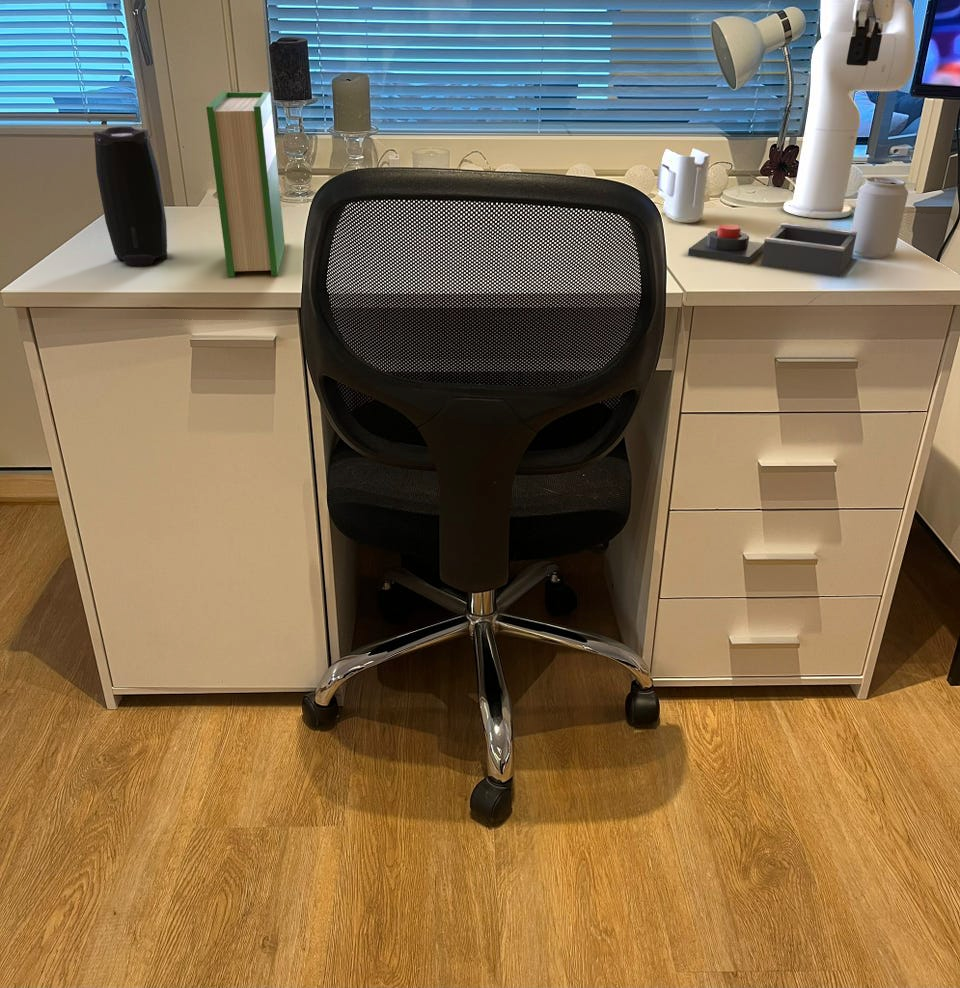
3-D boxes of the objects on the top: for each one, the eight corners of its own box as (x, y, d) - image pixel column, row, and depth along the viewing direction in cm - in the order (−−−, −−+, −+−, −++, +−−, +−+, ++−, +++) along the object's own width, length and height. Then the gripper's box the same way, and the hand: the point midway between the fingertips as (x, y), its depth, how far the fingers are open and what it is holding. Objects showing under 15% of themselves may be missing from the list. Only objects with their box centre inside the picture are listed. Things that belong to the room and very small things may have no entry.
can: (897, 261, 153) (915, 185, 147) (849, 258, 154) (865, 182, 148) (889, 249, 159) (905, 176, 153) (843, 246, 160) (858, 173, 154)
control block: (705, 242, 162) (707, 225, 160) (763, 250, 158) (766, 232, 156) (687, 255, 154) (689, 237, 153) (748, 264, 150) (750, 245, 149)
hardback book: (277, 275, 142) (260, 106, 130) (228, 276, 141) (206, 107, 130) (284, 245, 157) (270, 91, 146) (240, 246, 157) (221, 92, 145)
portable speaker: (129, 251, 154) (107, 124, 144) (182, 254, 152) (163, 127, 142) (101, 265, 146) (76, 132, 137) (156, 269, 145) (134, 135, 135)
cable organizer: (682, 210, 183) (690, 145, 177) (708, 225, 173) (717, 157, 167) (650, 211, 182) (657, 146, 176) (675, 226, 171) (682, 158, 166)
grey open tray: (778, 249, 158) (782, 222, 156) (851, 258, 153) (857, 231, 151) (760, 266, 149) (764, 238, 147) (838, 277, 144) (843, 248, 142)
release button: (720, 233, 157) (721, 223, 156) (741, 236, 155) (743, 225, 154) (714, 238, 154) (715, 227, 153) (735, 241, 152) (737, 230, 152)
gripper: (904, -62, 135) (878, 68, 143) (918, -59, 148) (893, 60, 156) (849, -62, 138) (827, 65, 146) (868, -59, 151) (847, 58, 159)
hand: (861, 62), depth 151 cm, fingers open, 9 cm apart
